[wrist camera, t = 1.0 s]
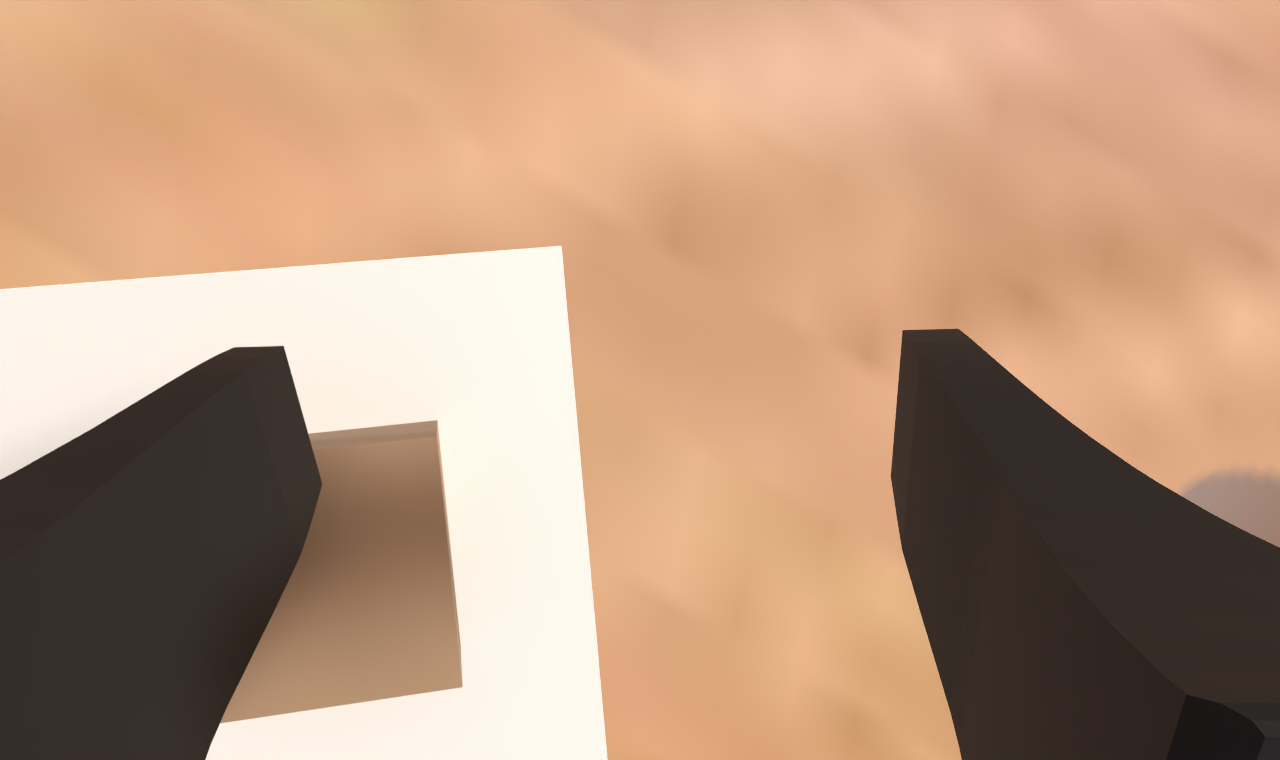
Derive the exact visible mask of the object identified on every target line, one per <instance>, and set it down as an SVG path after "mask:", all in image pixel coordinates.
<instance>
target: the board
mask: <svg viewBox="0 0 1280 760" xmlns="http://www.w3.org/2000/svg"><path fill="white" fill-rule="evenodd" d="M262 346H284V349H285V352H286V356H287V360H288V363H289V367H290V370H291V374H292V377H293V381H294V385H295V388H296V392H297V395H298V399H299V402H300V406H301V410H302V413H303V417H304V420H305V424H306V427H307V431H308V434H310V433H319V432H329V431H339V430H348V429H358V428H367V427H377V426H386V425H396V424H406V423H415V422H425V421H434V420H437V421H438V430H439V440H440V450H441V460H442V469H443V479H444V489H445V498H446V508H447V518H448V527H449V537H450V547H451V556H452V566H453V576H454V586H455V595H456V605H457V615H458V624H459V634H460V644H461V663H462V685H463V687H461V688H454V689H448V690H441V691H434V692H428V693H421V694H414V695H407V696H401V697H394V698H387V699H381V700H374V701H367V702H360V703H354V704H347V705H340V706H334V707H327V708H320V709H314V710H307V711H300V712H293V713H287V714H280V715H273V716H267V717H260V718H253V719H246V720H240V721H233V722H226V723H220V725H219V727H218V729H217V731H216V734H215V736H214V738H213V741H212V743H211V745H210V748H209V751H208V754H207V756H206V759H205V760H607V750H606V738H605V727H604V716H603V705H602V694H601V683H600V671H599V660H598V649H597V638H596V627H595V616H594V604H593V593H592V582H591V571H590V560H589V549H588V537H587V526H586V515H585V504H584V493H583V481H582V470H581V459H580V448H579V437H578V426H577V414H576V403H575V392H574V381H573V370H572V359H571V347H570V336H569V325H568V314H567V303H566V292H565V280H564V269H563V258H562V247H561V246H552V247H540V248H527V249H514V250H501V251H488V252H475V253H462V254H449V255H436V256H423V257H410V258H397V259H385V260H372V261H359V262H346V263H333V264H320V265H307V266H294V267H281V268H268V269H255V270H242V271H230V272H217V273H204V274H191V275H178V276H165V277H152V278H139V279H126V280H113V281H100V282H87V283H75V284H62V285H49V286H36V287H23V288H10V289H0V480H1V479H3V478H5V477H6V476H8V475H10V474H12V473H14V472H16V471H17V470H19V469H21V468H23V467H25V466H26V465H28V464H30V463H32V462H33V461H35V460H37V459H39V458H41V457H42V456H44V455H46V454H48V453H50V452H51V451H53V450H55V449H57V448H58V447H60V446H62V445H64V444H66V443H67V442H69V441H71V440H73V439H75V438H76V437H78V436H80V435H82V434H84V433H85V432H87V431H89V430H90V429H92V428H94V427H96V426H97V425H99V424H101V423H102V422H104V421H105V420H107V419H109V418H110V417H112V416H114V415H115V414H117V413H119V412H120V411H122V410H124V409H125V408H127V407H129V406H130V405H132V404H134V403H135V402H137V401H139V400H140V399H142V398H144V397H145V396H147V395H149V394H150V393H152V392H154V391H155V390H157V389H158V388H160V387H162V386H163V385H165V384H167V383H168V382H170V381H172V380H173V379H175V378H177V377H179V376H180V375H182V374H184V373H185V372H187V371H189V370H191V369H192V368H194V367H196V366H197V365H199V364H201V363H203V362H205V361H207V360H208V359H210V358H212V357H214V356H216V355H218V354H220V353H222V352H225V351H227V350H229V349H231V348H234V347H262Z"/></svg>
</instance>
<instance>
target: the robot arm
mask: <svg viewBox="0 0 1280 760" xmlns="http://www.w3.org/2000/svg"><path fill="white" fill-rule="evenodd" d="M891 480H892V487H893V493H894V500H895V507H896V514H897V520H898V526H899V533H900V539H901V545H902V550H903V554H904V557H905V561H906V564H907V568H908V571H909V575H910V578H911V581H912V585H913V588H914V592H915V595H916V598H917V602H918V605H919V609H920V612H921V615H922V619H923V622H924V625H925V629H926V632H927V635H928V639H929V642H930V645H931V648H932V652H933V655H934V658H935V662H936V665H937V668H938V672H939V675H940V678H941V682H942V685H943V688H944V692H945V695H946V698H947V702H948V705H949V708H950V712H951V716H952V720H953V724H954V728H955V732H956V736H957V740H958V744H959V748H960V752H961V758H962V760H1280V548H1279V547H1277V546H1275V545H1273V544H1271V543H1269V542H1266V541H1264V540H1262V539H1260V538H1258V537H1256V536H1254V535H1252V534H1250V533H1248V532H1246V531H1244V530H1242V529H1240V528H1238V527H1236V526H1234V525H1232V524H1230V523H1228V522H1226V521H1224V520H1222V519H1221V518H1219V517H1217V516H1215V515H1213V514H1211V513H1209V512H1208V511H1206V510H1204V509H1202V508H1201V507H1199V506H1197V505H1196V504H1194V503H1192V502H1190V501H1189V500H1187V499H1185V498H1184V497H1182V496H1180V495H1178V494H1177V493H1175V492H1173V491H1171V490H1170V489H1168V488H1166V487H1165V486H1163V485H1161V484H1159V483H1158V482H1156V481H1155V480H1153V479H1151V478H1150V477H1148V476H1147V475H1145V474H1144V473H1142V472H1140V471H1139V470H1137V469H1136V468H1134V467H1133V466H1131V465H1130V464H1128V463H1127V462H1125V461H1124V460H1122V459H1121V458H1120V457H1118V456H1117V455H1115V454H1114V453H1112V452H1111V451H1110V450H1108V449H1107V448H1105V447H1104V446H1102V445H1101V444H1100V443H1098V442H1097V441H1095V440H1094V439H1092V438H1091V437H1090V436H1088V435H1087V434H1086V433H1084V432H1083V431H1082V430H1080V429H1079V428H1078V427H1076V426H1075V425H1074V424H1072V423H1071V422H1070V421H1068V420H1067V419H1066V418H1064V417H1063V416H1062V415H1061V414H1059V413H1058V412H1057V411H1056V410H1054V409H1053V408H1052V407H1050V406H1049V405H1048V404H1047V403H1046V402H1044V401H1043V400H1042V399H1041V398H1039V397H1038V396H1037V395H1036V394H1034V393H1033V392H1032V391H1031V390H1030V389H1028V388H1027V387H1026V386H1025V385H1024V384H1022V383H1021V382H1020V381H1019V380H1018V379H1017V378H1015V377H1014V376H1013V375H1012V374H1011V373H1010V372H1008V371H1007V370H1006V369H1005V368H1004V367H1003V366H1001V365H1000V364H999V363H998V362H997V361H996V360H995V359H993V358H992V357H991V356H990V355H989V354H988V353H987V352H985V351H984V350H983V349H982V348H981V347H980V346H978V345H977V344H976V343H975V342H974V341H973V340H971V339H970V338H969V337H968V336H967V335H965V334H964V333H963V332H962V331H960V330H959V329H934V330H903V334H902V346H901V358H900V371H899V383H898V395H897V408H896V420H895V432H894V445H893V457H892V469H891ZM321 487H322V481H321V477H320V474H319V470H318V467H317V463H316V460H315V456H314V452H313V449H312V445H311V442H310V438H309V435H308V431H307V427H306V424H305V420H304V417H303V413H302V410H301V406H300V402H299V399H298V395H297V392H296V388H295V385H294V381H293V377H292V374H291V370H290V367H289V363H288V360H287V356H286V352H285V349H284V346H262V347H234V348H231V349H229V350H227V351H225V352H222V353H220V354H218V355H216V356H214V357H212V358H210V359H208V360H207V361H205V362H203V363H201V364H199V365H197V366H196V367H194V368H192V369H191V370H189V371H187V372H185V373H184V374H182V375H180V376H179V377H177V378H175V379H173V380H172V381H170V382H168V383H167V384H165V385H163V386H162V387H160V388H158V389H157V390H155V391H154V392H152V393H150V394H149V395H147V396H145V397H144V398H142V399H140V400H139V401H137V402H135V403H134V404H132V405H130V406H129V407H127V408H125V409H124V410H122V411H120V412H119V413H117V414H115V415H114V416H112V417H110V418H109V419H107V420H105V421H104V422H102V423H101V424H99V425H97V426H96V427H94V428H92V429H90V430H89V431H87V432H85V433H84V434H82V435H80V436H78V437H76V438H75V439H73V440H71V441H69V442H67V443H66V444H64V445H62V446H60V447H58V448H57V449H55V450H53V451H51V452H50V453H48V454H46V455H44V456H42V457H41V458H39V459H37V460H35V461H33V462H32V463H30V464H28V465H26V466H25V467H23V468H21V469H19V470H17V471H16V472H14V473H12V474H10V475H8V476H6V477H5V478H3V479H1V480H0V760H205V759H206V756H207V754H208V751H209V748H210V745H211V743H212V741H213V738H214V736H215V734H216V731H217V729H218V727H219V725H220V722H221V720H222V718H223V715H224V713H225V711H226V708H227V706H228V704H229V702H230V700H231V698H232V696H233V694H234V692H235V690H236V688H237V686H238V684H239V682H240V680H241V678H242V676H243V674H244V672H245V670H246V668H247V666H248V664H249V662H250V659H251V657H252V655H253V653H254V651H255V649H256V647H257V645H258V643H259V641H260V639H261V637H262V635H263V633H264V631H265V629H266V627H267V625H268V623H269V621H270V619H271V617H272V615H273V613H274V611H275V608H276V606H277V604H278V602H279V600H280V598H281V596H282V594H283V592H284V590H285V587H286V585H287V583H288V581H289V579H290V577H291V575H292V573H293V571H294V568H295V566H296V564H297V562H298V560H299V557H300V555H301V553H302V550H303V547H304V543H305V540H306V537H307V534H308V531H309V528H310V525H311V522H312V519H313V515H314V512H315V508H316V505H317V501H318V498H319V494H320V491H321Z"/></svg>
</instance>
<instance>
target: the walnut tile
mask: <svg viewBox="0 0 1280 760" xmlns="http://www.w3.org/2000/svg"><path fill="white" fill-rule="evenodd" d="M308 435H309V438H310V442H311V445H312V449H313V452H314V456H315V460H316V463H317V467H318V470H319V474H320V477H321V481H322V487H321V491H320V494H319V498H318V501H317V505H316V508H315V512H314V515H313V519H312V522H311V525H310V528H309V531H308V534H307V537H306V540H305V543H304V547H303V550H302V553H301V555H300V557H299V560H298V562H297V564H296V566H295V568H294V571H293V573H292V575H291V577H290V579H289V581H288V583H287V585H286V587H285V590H284V592H283V594H282V596H281V598H280V600H279V602H278V604H277V606H276V608H275V611H274V613H273V615H272V617H271V619H270V621H269V623H268V625H267V627H266V629H265V631H264V633H263V635H262V637H261V639H260V641H259V643H258V645H257V647H256V649H255V651H254V653H253V655H252V657H251V659H250V662H249V664H248V666H247V668H246V670H245V672H244V674H243V676H242V678H241V680H240V682H239V684H238V686H237V688H236V690H235V692H234V694H233V696H232V698H231V700H230V702H229V704H228V706H227V708H226V711H225V713H224V715H223V718H222V720H221V722H220V723H226V722H233V721H240V720H246V719H253V718H260V717H267V716H273V715H280V714H287V713H293V712H300V711H307V710H314V709H320V708H327V707H334V706H340V705H347V704H354V703H360V702H367V701H374V700H381V699H387V698H394V697H401V696H407V695H414V694H421V693H428V692H434V691H441V690H448V689H454V688H461V687H463V685H462V663H461V644H460V634H459V624H458V615H457V605H456V595H455V586H454V576H453V566H452V556H451V547H450V537H449V527H448V518H447V508H446V498H445V489H444V479H443V469H442V460H441V450H440V440H439V430H438V421H437V420H434V421H425V422H415V423H406V424H396V425H386V426H377V427H367V428H358V429H348V430H339V431H329V432H319V433H310V434H308Z"/></svg>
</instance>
